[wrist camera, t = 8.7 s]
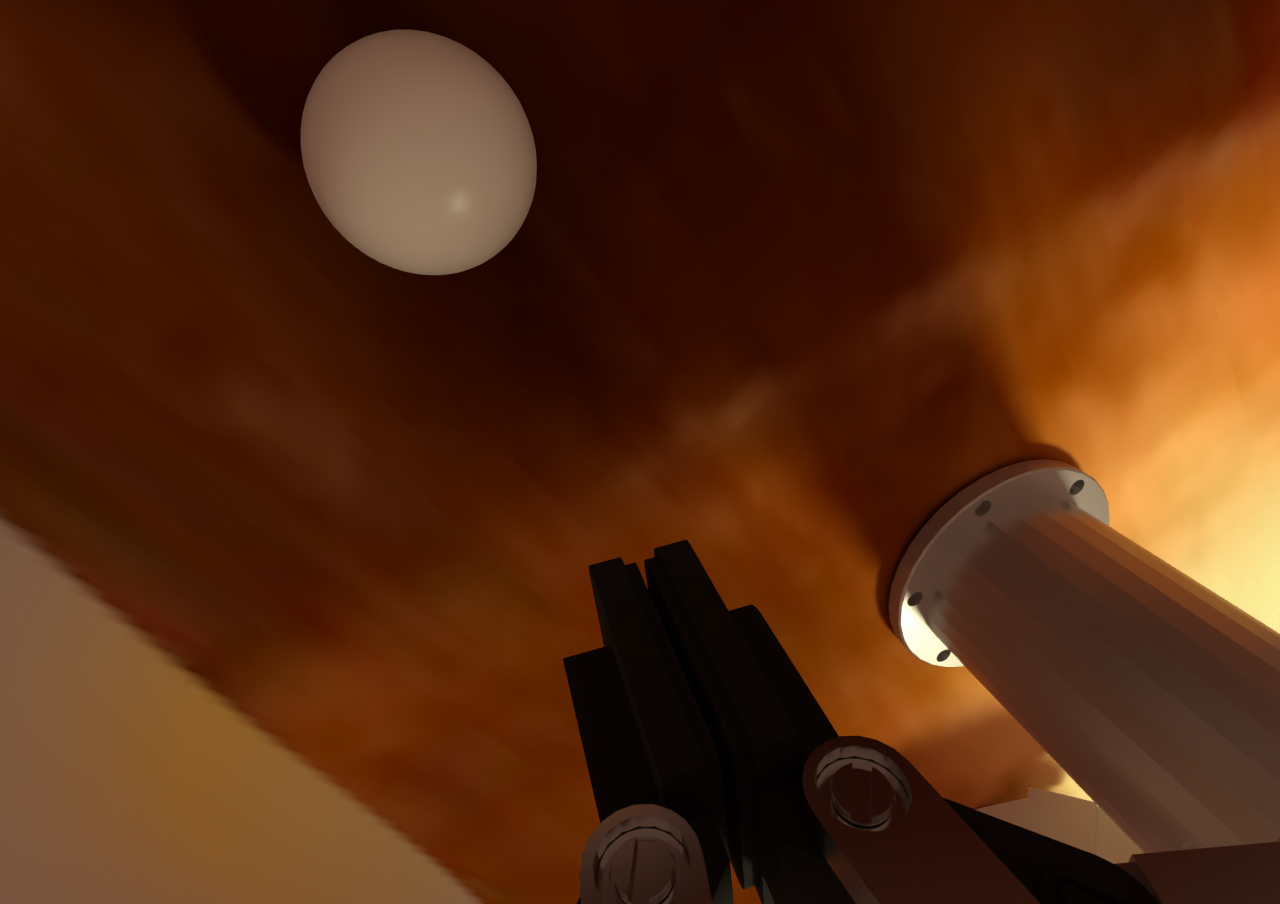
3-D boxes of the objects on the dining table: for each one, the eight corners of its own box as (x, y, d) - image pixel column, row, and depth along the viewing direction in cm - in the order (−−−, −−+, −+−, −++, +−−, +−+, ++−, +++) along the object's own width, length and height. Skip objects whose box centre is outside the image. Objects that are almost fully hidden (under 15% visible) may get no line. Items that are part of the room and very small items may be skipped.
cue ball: (558, 86, 14) (543, 38, 18) (256, 25, 12) (317, -12, 16) (528, 325, 17) (521, 238, 21) (288, 299, 15) (332, 211, 20)
